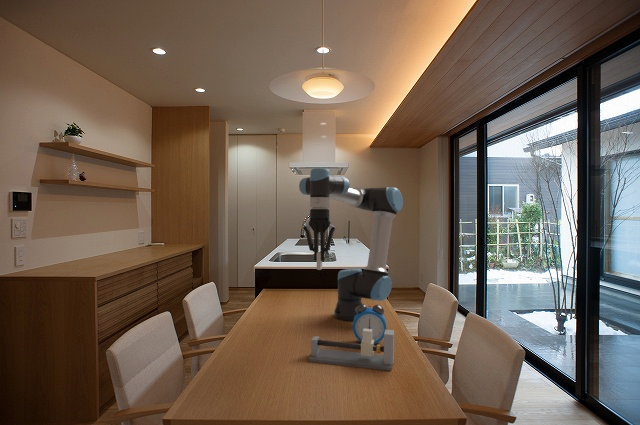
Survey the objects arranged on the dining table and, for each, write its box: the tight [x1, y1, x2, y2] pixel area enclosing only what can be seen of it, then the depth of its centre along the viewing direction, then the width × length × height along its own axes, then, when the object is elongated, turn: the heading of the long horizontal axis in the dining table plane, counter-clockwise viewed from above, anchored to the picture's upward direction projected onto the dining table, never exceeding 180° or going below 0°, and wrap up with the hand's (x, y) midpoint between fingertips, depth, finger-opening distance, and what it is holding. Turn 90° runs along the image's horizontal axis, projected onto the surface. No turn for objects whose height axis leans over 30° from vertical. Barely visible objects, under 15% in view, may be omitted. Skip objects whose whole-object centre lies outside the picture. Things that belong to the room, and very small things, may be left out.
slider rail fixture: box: [308, 329, 395, 372], centre depth 130 cm, size 10×28×11 cm, turn 75°
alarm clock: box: [352, 303, 388, 345], centre depth 147 cm, size 13×6×15 cm, turn 81°
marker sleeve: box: [360, 329, 375, 357], centre depth 129 cm, size 4×4×8 cm
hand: (319, 269), depth 145 cm, fingers closed
